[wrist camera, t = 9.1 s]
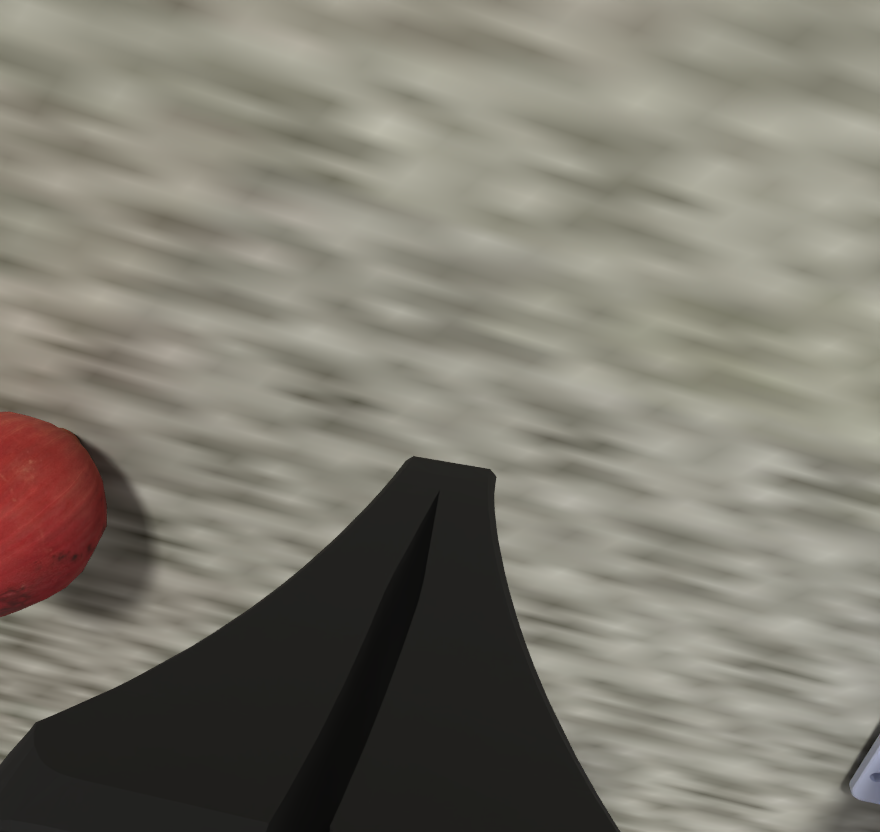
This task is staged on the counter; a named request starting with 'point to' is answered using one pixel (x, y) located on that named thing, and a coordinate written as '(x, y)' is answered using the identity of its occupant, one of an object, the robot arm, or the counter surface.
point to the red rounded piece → (44, 510)
